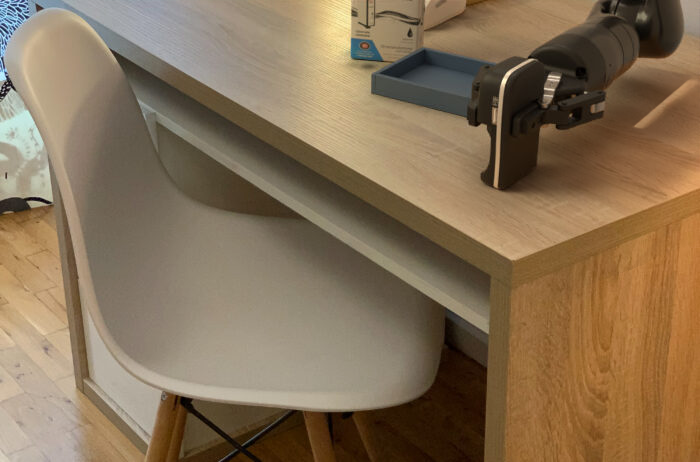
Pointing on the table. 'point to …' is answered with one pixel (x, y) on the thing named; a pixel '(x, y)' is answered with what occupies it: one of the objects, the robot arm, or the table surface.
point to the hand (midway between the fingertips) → (494, 122)
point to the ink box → (386, 28)
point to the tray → (430, 79)
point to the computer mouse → (441, 11)
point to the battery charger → (509, 117)
